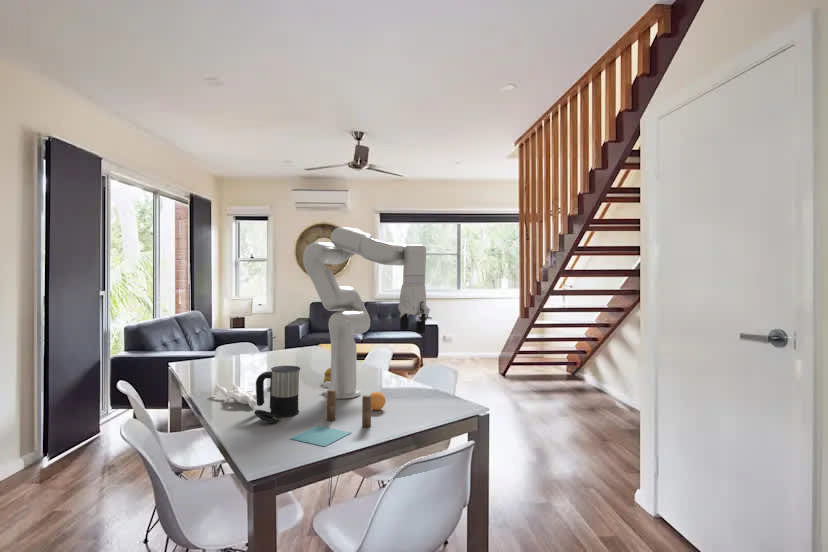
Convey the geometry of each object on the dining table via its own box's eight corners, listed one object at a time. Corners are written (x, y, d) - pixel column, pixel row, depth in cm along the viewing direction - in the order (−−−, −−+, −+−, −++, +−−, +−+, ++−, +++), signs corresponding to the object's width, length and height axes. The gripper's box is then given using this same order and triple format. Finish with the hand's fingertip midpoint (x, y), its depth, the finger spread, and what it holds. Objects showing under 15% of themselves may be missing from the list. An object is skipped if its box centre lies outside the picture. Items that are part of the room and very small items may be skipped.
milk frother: (298, 408, 156) (298, 364, 156) (303, 422, 141) (304, 374, 141) (253, 412, 151) (254, 366, 151) (254, 427, 136) (255, 377, 136)
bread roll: (330, 388, 184) (330, 368, 184) (316, 383, 191) (316, 364, 191) (355, 382, 193) (355, 363, 193) (341, 379, 200) (341, 360, 200)
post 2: (360, 427, 137) (360, 396, 137) (365, 424, 139) (365, 394, 139) (367, 428, 136) (368, 398, 136) (372, 426, 138) (372, 396, 138)
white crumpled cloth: (209, 400, 168) (238, 417, 150) (207, 385, 167) (236, 400, 150) (240, 391, 176) (271, 406, 158) (238, 376, 175) (269, 390, 158)
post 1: (325, 420, 143) (325, 391, 143) (330, 417, 145) (330, 389, 145) (332, 421, 142) (332, 392, 142) (337, 419, 144) (337, 390, 144)
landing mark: (289, 438, 126) (289, 438, 126) (318, 426, 137) (318, 425, 137) (324, 446, 121) (324, 446, 121) (351, 433, 132) (351, 432, 132)
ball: (364, 410, 153) (364, 392, 153) (373, 406, 159) (373, 388, 159) (379, 413, 151) (379, 395, 151) (388, 408, 156) (388, 391, 156)
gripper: (391, 279, 161) (389, 328, 161) (420, 281, 147) (418, 335, 147) (408, 279, 165) (407, 327, 166) (438, 282, 151) (436, 334, 152)
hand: (412, 331), depth 157 cm, fingers open, 9 cm apart
